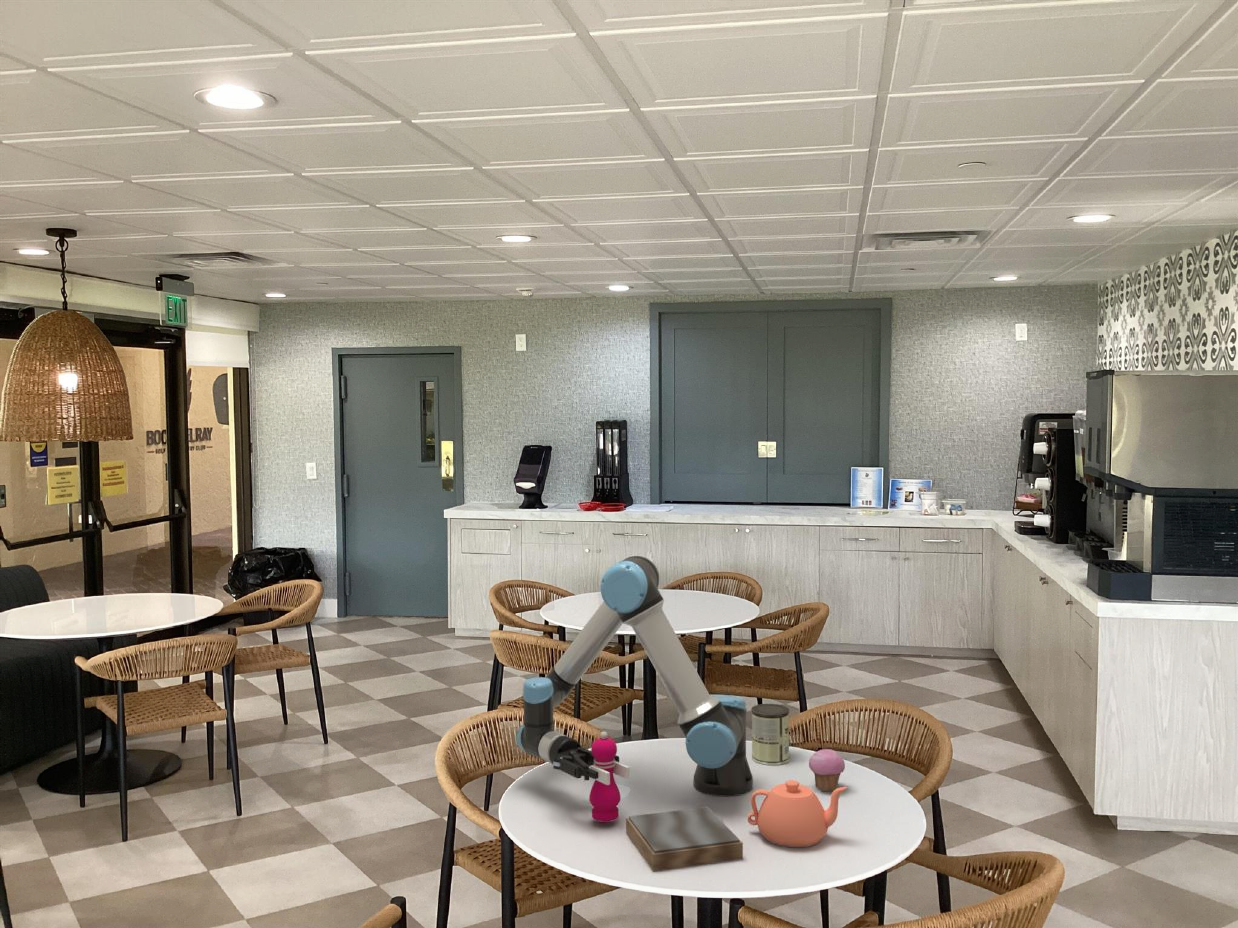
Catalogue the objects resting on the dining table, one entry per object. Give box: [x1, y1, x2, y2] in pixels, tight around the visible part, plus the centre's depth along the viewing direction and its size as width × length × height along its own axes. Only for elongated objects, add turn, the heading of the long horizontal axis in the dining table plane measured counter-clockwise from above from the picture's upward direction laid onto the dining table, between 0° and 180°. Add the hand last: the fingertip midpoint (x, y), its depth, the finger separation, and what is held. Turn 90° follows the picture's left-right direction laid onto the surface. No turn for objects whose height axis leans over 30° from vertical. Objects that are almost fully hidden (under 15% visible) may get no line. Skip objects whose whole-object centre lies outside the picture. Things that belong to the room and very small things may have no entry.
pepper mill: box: [588, 731, 621, 823], centre depth 229 cm, size 7×7×20 cm
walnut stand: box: [625, 806, 744, 872], centre depth 217 cm, size 20×20×4 cm
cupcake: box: [808, 748, 846, 792], centre depth 250 cm, size 9×9×10 cm
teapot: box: [747, 779, 848, 848], centre depth 221 cm, size 22×16×12 cm
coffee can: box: [750, 703, 790, 766], centre depth 272 cm, size 10×10×14 cm
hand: (618, 775), depth 225 cm, fingers closed on pepper mill, 5 cm apart
